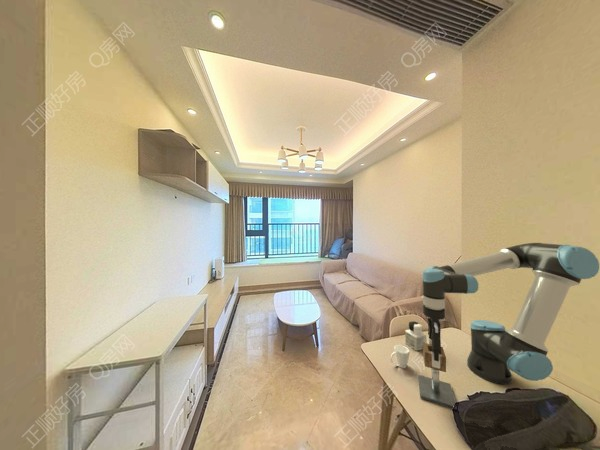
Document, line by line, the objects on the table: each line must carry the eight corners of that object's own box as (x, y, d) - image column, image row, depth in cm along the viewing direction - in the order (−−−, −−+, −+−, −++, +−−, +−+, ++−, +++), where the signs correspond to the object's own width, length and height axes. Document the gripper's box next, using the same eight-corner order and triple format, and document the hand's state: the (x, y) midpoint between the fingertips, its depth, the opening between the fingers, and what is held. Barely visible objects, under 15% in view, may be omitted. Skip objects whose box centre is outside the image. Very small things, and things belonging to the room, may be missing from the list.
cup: (413, 368, 94) (413, 351, 94) (396, 372, 91) (395, 355, 91) (402, 358, 101) (402, 343, 101) (386, 362, 98) (385, 346, 98)
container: (405, 343, 114) (404, 321, 114) (415, 340, 116) (414, 319, 116) (416, 351, 106) (415, 327, 106) (427, 348, 109) (426, 325, 109)
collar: (442, 360, 82) (442, 347, 82) (445, 372, 76) (446, 357, 76) (423, 355, 85) (423, 342, 85) (424, 366, 79) (425, 352, 79)
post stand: (450, 386, 83) (449, 362, 83) (457, 410, 72) (457, 382, 72) (417, 377, 88) (417, 354, 88) (420, 398, 78) (419, 372, 78)
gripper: (420, 296, 91) (421, 345, 91) (426, 314, 73) (426, 374, 73) (439, 299, 88) (440, 349, 88) (450, 318, 70) (451, 381, 70)
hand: (434, 360), depth 80 cm, fingers closed on collar, 7 cm apart
